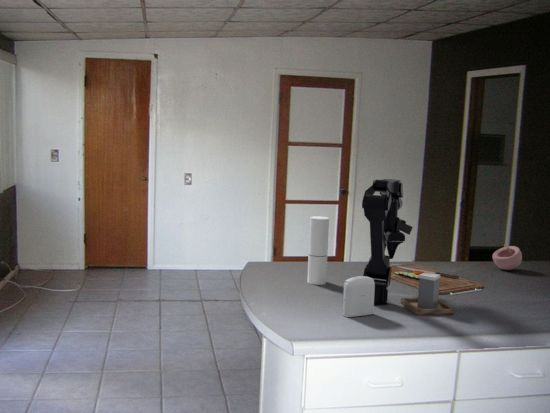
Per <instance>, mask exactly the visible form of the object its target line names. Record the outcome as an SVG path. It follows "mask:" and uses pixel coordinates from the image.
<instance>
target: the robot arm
mask: <svg viewBox="0 0 550 413" xmlns="http://www.w3.org/2000/svg"><path fill="white" fill-rule="evenodd" d="M403 187H404V186H403V182H402V180H401V179H396V178H395V179H391V178H382V179H373V181H372V185H371V186H369V187H368V188H367V189H366V190H365V191H364V194H363V197H362V202H361V206H362V207H361V209H363V216H364V218H366V220H367V222H369V236H370V257H369V259H368V261H367V264H366V265H365V268H364V269H363V275H362V276H366V277H370V278H372V279H373V280H374V283H375V291H374V306H375V305H377V306H378V305H379V306H380V305H388V296H389V289H387V288H389V286H390V285H391V281H392V280H391V272H392V268H391V267H390V265H391V263H390V262H391V261H390V260H393V259H394V257H395V254H396V251H397V248H398V247H399V245H401V244H403V243H404V242H405V241H406V235H405V234H407V235H411V232H412V231H413V228H414V227H413V226H411V225H410V224H407V221H406V220H404V219H401V218H400V217H399V216H398V212H399V210H400V209H401V208H402V207H403V199H402V198H404V188H403ZM376 192H378V193H379V195H377V194H375V193H376ZM385 251H387V255H386V254H385Z"/></svg>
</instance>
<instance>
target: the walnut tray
mask: <svg viewBox="0 0 550 413" xmlns="http://www.w3.org/2000/svg"><path fill="white" fill-rule="evenodd" d="M400 304H401V305H403V307H405V309H407V310H408V311H409V312H410V313H412V314H413V315H414V316H453V315H454V310H455V309H454V308H453V307H451V306H449V305H448V304H447V303H445V302H443V301H442V300H441V299H439V298H438V307H437V308H435V309H422V308H418V307H417V306H418V297H401V298H400Z"/></svg>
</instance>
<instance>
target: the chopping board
mask: <svg viewBox="0 0 550 413" xmlns="http://www.w3.org/2000/svg"><path fill="white" fill-rule="evenodd" d="M390 267H391V268H392V272H391V279H392V280H391V281H394V280H395V281H394V282H398V283H400V284H403V285H406V286H408V287H412V288H415V289H418V290H419V275H420V274H422V273H424V272H427V273H433V274H439V275H440V281H439V294H438V295H447V294H450V296H454V295H462V294H469V293H474V292H481V291H482V288H483V285H482V283H479V282H476V281H473V280H468V279H465V278H462V277H460V275H455V274H451V273H447V272H442V271H439V270H436V269H432V268H429V267H426V266H422V265H419V264H414V263H395V264H390Z"/></svg>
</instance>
